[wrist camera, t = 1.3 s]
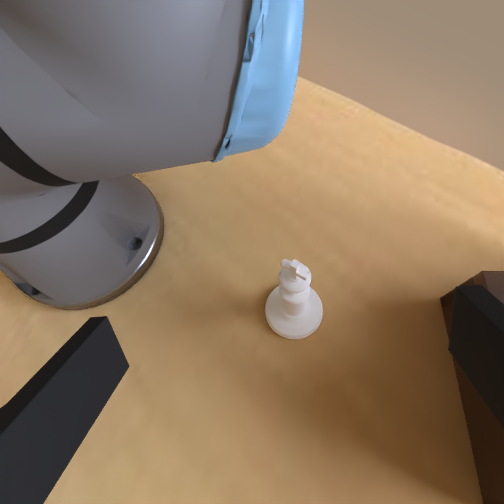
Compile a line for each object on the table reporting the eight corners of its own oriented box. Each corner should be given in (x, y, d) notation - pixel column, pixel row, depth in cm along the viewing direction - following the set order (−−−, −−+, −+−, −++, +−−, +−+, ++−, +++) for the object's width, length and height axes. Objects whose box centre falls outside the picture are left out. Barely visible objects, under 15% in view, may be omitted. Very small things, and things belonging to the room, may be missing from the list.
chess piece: (284, 273, 27) (281, 213, 18) (333, 301, 25) (356, 250, 16) (254, 318, 26) (234, 276, 17) (304, 351, 24) (312, 324, 15)
